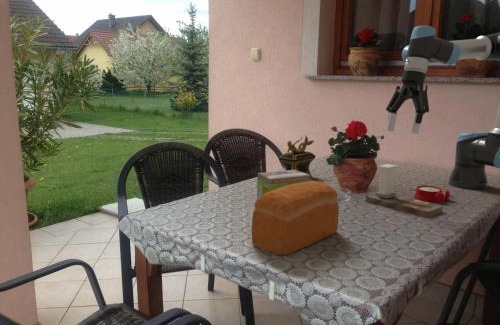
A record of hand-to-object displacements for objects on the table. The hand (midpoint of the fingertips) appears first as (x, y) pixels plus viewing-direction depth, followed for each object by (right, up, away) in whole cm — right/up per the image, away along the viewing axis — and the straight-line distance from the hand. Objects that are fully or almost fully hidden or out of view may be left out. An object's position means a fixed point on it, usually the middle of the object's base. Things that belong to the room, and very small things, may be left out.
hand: (401, 131), depth 144 cm
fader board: (+2, -27, +3) cm, 27 cm away
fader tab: (-3, -23, +8) cm, 25 cm away
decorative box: (-30, -18, +49) cm, 60 cm away
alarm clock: (+17, -25, +13) cm, 33 cm away
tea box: (-42, -29, -7) cm, 52 cm away
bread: (-40, -33, -27) cm, 58 cm away
